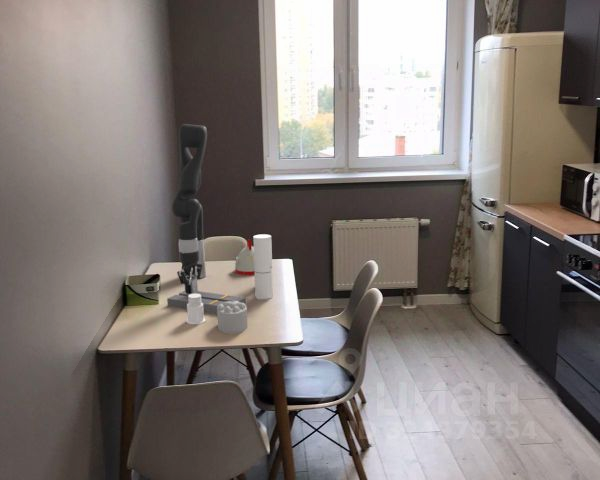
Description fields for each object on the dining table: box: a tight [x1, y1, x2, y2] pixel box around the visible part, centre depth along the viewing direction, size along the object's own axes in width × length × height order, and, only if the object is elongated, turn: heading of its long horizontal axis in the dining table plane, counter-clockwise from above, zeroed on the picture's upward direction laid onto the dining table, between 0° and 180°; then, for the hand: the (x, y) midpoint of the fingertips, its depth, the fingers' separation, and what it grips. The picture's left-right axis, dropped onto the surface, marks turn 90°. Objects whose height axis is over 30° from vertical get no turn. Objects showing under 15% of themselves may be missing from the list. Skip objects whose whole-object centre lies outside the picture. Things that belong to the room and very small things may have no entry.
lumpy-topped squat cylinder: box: [216, 301, 248, 335], centre depth 241 cm, size 10×13×9 cm
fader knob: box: [183, 278, 199, 295], centre depth 269 cm, size 4×3×9 cm
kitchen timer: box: [234, 238, 255, 276], centre depth 315 cm, size 14×14×15 cm
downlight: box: [185, 294, 206, 325], centre depth 248 cm, size 8×7×10 cm
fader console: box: [166, 290, 247, 314], centre depth 267 cm, size 28×13×3 cm, turn 63°
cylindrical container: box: [252, 233, 274, 300], centre depth 274 cm, size 7×7×25 cm
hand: (191, 292), depth 269 cm, fingers closed on fader knob, 3 cm apart
